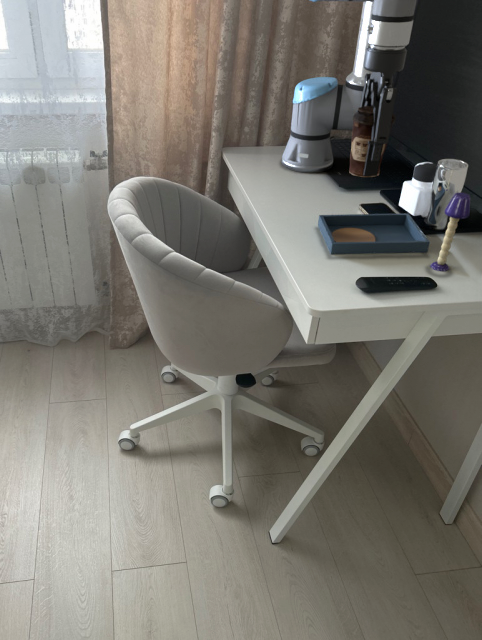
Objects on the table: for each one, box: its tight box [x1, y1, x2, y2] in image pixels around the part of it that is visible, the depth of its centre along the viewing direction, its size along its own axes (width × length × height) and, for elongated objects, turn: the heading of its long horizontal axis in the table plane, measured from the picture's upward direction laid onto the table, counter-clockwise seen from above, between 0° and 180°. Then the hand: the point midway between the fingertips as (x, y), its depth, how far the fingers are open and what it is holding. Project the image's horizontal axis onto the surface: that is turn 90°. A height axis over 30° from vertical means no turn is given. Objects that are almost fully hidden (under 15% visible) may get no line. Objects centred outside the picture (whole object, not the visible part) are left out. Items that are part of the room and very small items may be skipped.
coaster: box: [332, 228, 375, 242], centre depth 131 cm, size 10×10×1 cm
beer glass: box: [423, 158, 469, 232], centre depth 133 cm, size 7×7×15 cm
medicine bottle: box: [398, 161, 438, 218], centre depth 140 cm, size 7×7×12 cm
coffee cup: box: [348, 106, 397, 178], centre depth 117 cm, size 9×8×13 cm
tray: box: [317, 212, 431, 255], centre depth 130 cm, size 15×22×4 cm
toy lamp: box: [429, 192, 471, 273], centre depth 116 cm, size 5×5×17 cm
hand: (365, 168), depth 121 cm, fingers closed on coffee cup, 7 cm apart
